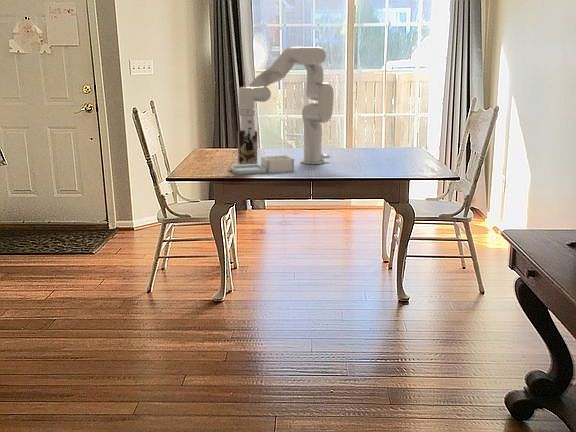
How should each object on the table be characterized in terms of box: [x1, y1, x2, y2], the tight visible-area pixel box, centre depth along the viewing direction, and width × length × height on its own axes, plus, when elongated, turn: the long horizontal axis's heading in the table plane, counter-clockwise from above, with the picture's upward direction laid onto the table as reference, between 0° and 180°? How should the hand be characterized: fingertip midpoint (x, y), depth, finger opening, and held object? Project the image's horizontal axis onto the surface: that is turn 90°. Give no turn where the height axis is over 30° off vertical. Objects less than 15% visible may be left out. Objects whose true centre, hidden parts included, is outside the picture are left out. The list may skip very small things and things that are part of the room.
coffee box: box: [237, 130, 258, 166], centre depth 283 cm, size 9×6×16 cm
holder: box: [260, 154, 295, 173], centre depth 291 cm, size 14×12×6 cm
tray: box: [229, 163, 267, 176], centre depth 286 cm, size 15×14×2 cm
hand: (247, 148), depth 284 cm, fingers closed on coffee box, 6 cm apart
